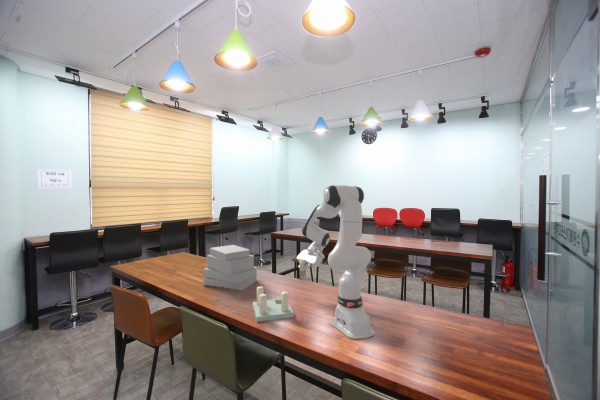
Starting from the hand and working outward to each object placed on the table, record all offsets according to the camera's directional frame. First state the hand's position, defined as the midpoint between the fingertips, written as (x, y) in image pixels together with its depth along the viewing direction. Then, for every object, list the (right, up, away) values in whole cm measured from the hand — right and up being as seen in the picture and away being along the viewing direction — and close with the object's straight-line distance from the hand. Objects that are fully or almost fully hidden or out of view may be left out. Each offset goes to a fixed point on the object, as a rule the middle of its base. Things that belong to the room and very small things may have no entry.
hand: (301, 268), depth 168 cm
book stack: (-52, -18, +29) cm, 63 cm away
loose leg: (+1, -7, 0) cm, 7 cm away
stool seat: (-17, -19, -19) cm, 32 cm away
